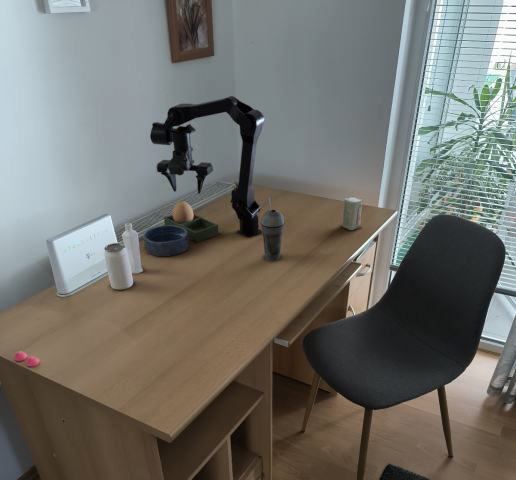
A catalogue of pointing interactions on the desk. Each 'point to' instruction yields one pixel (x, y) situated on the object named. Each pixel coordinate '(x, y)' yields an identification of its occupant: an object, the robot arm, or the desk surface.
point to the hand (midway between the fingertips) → (187, 192)
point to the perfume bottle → (132, 248)
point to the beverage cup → (272, 233)
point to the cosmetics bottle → (352, 213)
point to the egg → (182, 213)
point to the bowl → (166, 240)
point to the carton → (196, 227)
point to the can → (118, 266)
